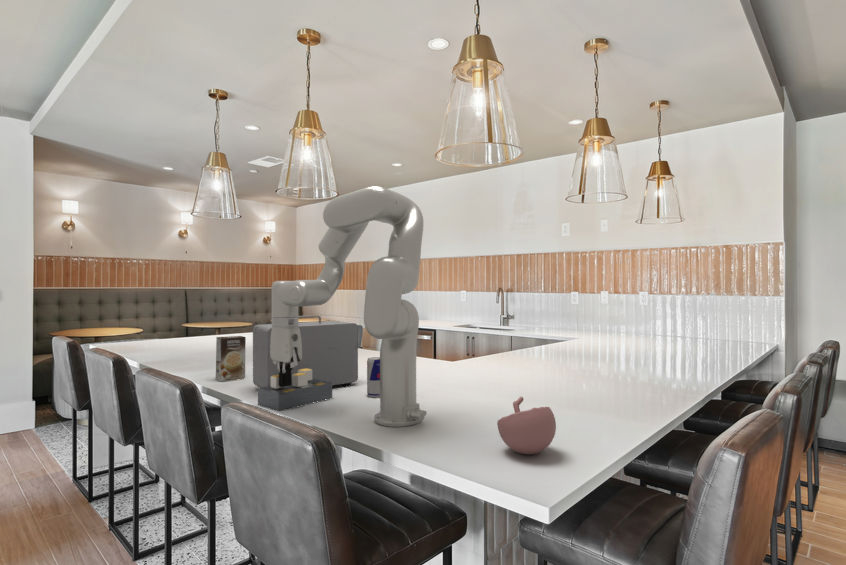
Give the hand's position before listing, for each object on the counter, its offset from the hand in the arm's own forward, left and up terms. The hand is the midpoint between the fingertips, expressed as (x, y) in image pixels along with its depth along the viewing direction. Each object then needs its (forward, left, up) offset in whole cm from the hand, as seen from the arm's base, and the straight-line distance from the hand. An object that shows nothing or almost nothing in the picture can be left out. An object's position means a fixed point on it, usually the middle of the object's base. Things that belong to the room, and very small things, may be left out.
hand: (285, 385), depth 136 cm
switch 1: (+3, 0, -1) cm, 4 cm away
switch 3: (+1, -6, -1) cm, 6 cm away
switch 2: (+6, -11, -1) cm, 13 cm away
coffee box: (+51, -10, -6) cm, 53 cm away
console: (+3, -6, -6) cm, 9 cm away
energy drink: (-11, -26, -6) cm, 29 cm away
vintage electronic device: (+18, -20, -7) cm, 28 cm away
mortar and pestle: (-72, -11, -6) cm, 73 cm away
